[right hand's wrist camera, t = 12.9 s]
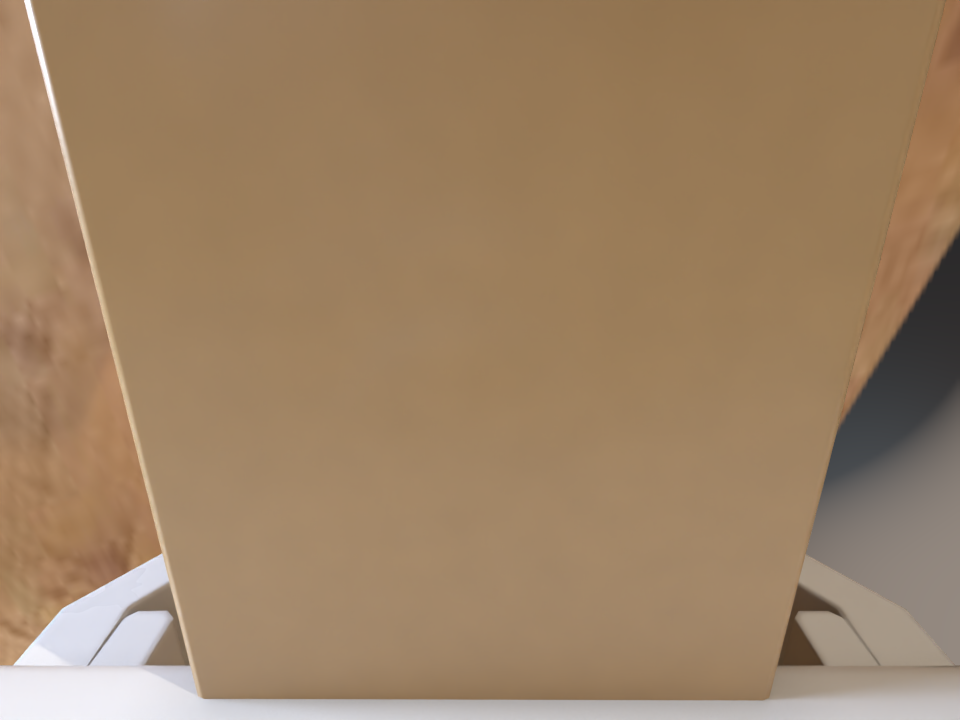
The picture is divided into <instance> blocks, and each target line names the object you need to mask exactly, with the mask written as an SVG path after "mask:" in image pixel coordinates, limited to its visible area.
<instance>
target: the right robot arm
mask: <svg viewBox="0 0 960 720" xmlns="http://www.w3.org/2000/svg"><path fill="white" fill-rule="evenodd" d="M0 720H960V666H955V664H954V663H953V662H952V661H951V660H950V659H949V658H948V657H947V655H946V654H945V653H944V652H943V651H942V650H941V649H940V647H939V646H938V645H937V644H936V643H935V642H934V641H933V640H932V638H931V637H930V636H929V635H928V634H927V633H926V632H925V630H924V629H923V628H922V627H921V626H920V625H919V624H918V622H917V621H916V620H915V619H914V618H913V617H912V616H911V614H910V613H909V612H908V611H907V610H906V609H904V608H903V607H901V606H899V605H897V604H895V603H893V602H892V601H890V600H888V599H886V598H884V597H882V596H881V595H879V594H877V593H875V592H873V591H872V590H870V589H868V588H866V587H864V586H862V585H861V584H859V583H857V582H855V581H853V580H851V579H850V578H848V577H846V576H844V575H842V574H840V573H839V572H837V571H835V570H833V569H831V568H829V567H828V566H826V565H824V564H822V563H820V562H819V561H817V560H815V559H813V558H811V557H809V556H808V555H805V558H804V562H803V566H802V570H801V574H800V578H799V582H798V586H797V590H796V594H795V598H794V602H793V606H792V610H791V614H790V618H789V622H788V626H787V629H786V633H785V637H784V641H783V645H782V649H781V653H780V657H779V661H778V665H777V669H776V673H775V677H774V681H773V685H772V689H771V693H770V697H769V698H768V699H765V700H429V699H203V698H201V697H198V695H197V691H196V687H195V683H194V679H193V675H192V671H191V667H190V662H189V658H188V654H187V650H186V646H185V642H184V638H183V634H182V630H181V626H180V622H179V618H178V614H177V610H176V606H175V602H174V598H173V594H172V590H171V586H170V582H169V578H168V574H167V570H166V566H165V562H164V558H163V554H161V555H159V556H157V557H155V558H153V559H152V560H150V561H148V562H146V563H144V564H142V565H141V566H139V567H137V568H135V569H133V570H132V571H130V572H128V573H126V574H124V575H122V576H121V577H119V578H117V579H115V580H113V581H112V582H110V583H108V584H106V585H104V586H102V587H101V588H99V589H97V590H95V591H93V592H92V593H90V594H88V595H86V596H84V597H82V598H81V599H79V600H77V601H75V602H73V603H72V604H70V605H68V606H66V607H64V608H63V609H62V610H61V611H60V612H59V613H58V614H57V615H56V617H55V618H54V619H53V620H52V621H51V622H50V623H49V625H48V626H47V627H46V628H45V629H44V630H43V632H42V633H41V634H40V635H39V636H38V637H37V638H36V640H35V641H34V642H33V643H32V644H31V645H30V646H29V648H28V649H27V650H26V651H25V652H24V653H23V655H22V656H21V657H20V658H19V659H18V660H17V661H16V663H15V664H14V665H0Z"/></svg>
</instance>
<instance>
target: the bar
mask: <svg viewBox="0 0 960 720" xmlns="http://www.w3.org/2000/svg"><path fill="white" fill-rule="evenodd" d="M24 1H25V5H26V9H27V13H28V17H29V21H30V25H31V29H32V33H33V37H34V41H35V45H36V49H37V53H38V57H39V61H40V65H41V69H42V73H43V77H44V81H45V85H46V89H47V93H48V97H49V101H50V105H51V110H52V114H53V118H54V122H55V126H56V130H57V134H58V138H59V142H60V146H61V150H62V154H63V158H64V162H65V166H66V170H67V174H68V178H69V182H70V186H71V190H72V194H73V198H74V202H75V206H76V210H77V214H78V218H79V222H80V226H81V230H82V234H83V238H84V242H85V246H86V250H87V254H88V258H89V262H90V266H91V270H92V274H93V278H94V282H95V286H96V290H97V294H98V298H99V302H100V306H101V310H102V314H103V318H104V322H105V326H106V330H107V334H108V338H109V342H110V346H111V350H112V354H113V358H114V362H115V366H116V370H117V374H118V378H119V382H120V386H121V390H122V394H123V398H124V402H125V406H126V410H127V414H128V418H129V422H130V426H131V430H132V434H133V438H134V442H135V446H136V450H137V454H138V458H139V462H140V466H141V470H142V474H143V478H144V482H145V486H146V490H147V494H148V498H149V502H150V506H151V510H152V514H153V518H154V522H155V526H156V530H157V534H158V538H159V542H160V546H161V550H162V554H163V558H164V562H165V566H166V570H167V574H168V578H169V582H170V586H171V590H172V594H173V598H174V602H175V606H176V610H177V614H178V618H179V622H180V626H181V630H182V634H183V638H184V642H185V646H186V650H187V654H188V658H189V662H190V667H191V671H192V675H193V679H194V683H195V687H196V691H197V695H198V697H201V698H203V699H429V700H765V699H768V698H769V697H770V693H771V689H772V685H773V681H774V677H775V673H776V669H777V665H778V661H779V657H780V653H781V649H782V645H783V641H784V637H785V633H786V629H787V626H788V622H789V618H790V614H791V610H792V606H793V602H794V598H795V594H796V590H797V586H798V582H799V578H800V574H801V570H802V566H803V562H804V558H805V555H806V550H807V547H808V543H809V539H810V535H811V531H812V527H813V523H814V519H815V515H816V511H817V507H818V503H819V499H820V495H821V491H822V487H823V484H824V480H825V476H826V472H827V468H828V464H829V460H830V456H831V452H832V448H833V444H834V440H835V436H836V432H837V428H838V424H839V420H840V416H841V413H842V409H843V405H844V401H845V397H846V393H847V389H848V385H849V381H850V377H851V373H852V369H853V365H854V361H855V357H856V353H857V349H858V345H859V342H860V338H861V334H862V330H863V326H864V322H865V318H866V314H867V310H868V306H869V302H870V298H871V294H872V290H873V286H874V282H875V278H876V274H877V271H878V267H879V263H880V259H881V255H882V251H883V247H884V243H885V239H886V235H887V231H888V227H889V223H890V219H891V215H892V211H893V207H894V203H895V200H896V196H897V192H898V188H899V184H900V180H901V176H902V172H903V168H904V164H905V160H906V156H907V152H908V148H909V144H910V140H911V136H912V132H913V129H914V125H915V121H916V117H917V113H918V109H919V105H920V101H921V97H922V93H923V89H924V85H925V81H926V77H927V73H928V69H929V65H930V61H931V58H932V54H933V50H934V46H935V42H936V38H937V34H938V30H939V26H940V22H941V18H942V14H943V10H944V6H945V2H946V0H24Z"/></svg>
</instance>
